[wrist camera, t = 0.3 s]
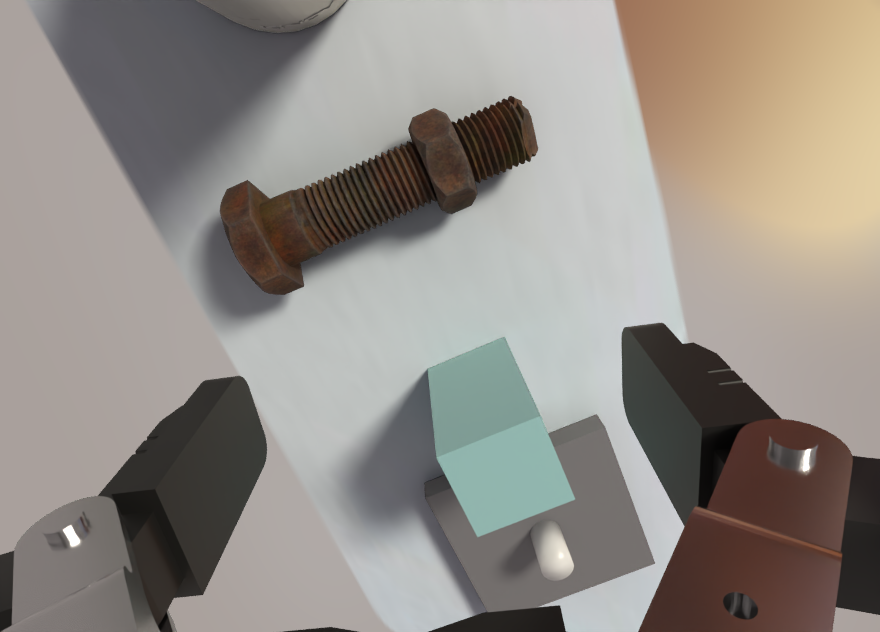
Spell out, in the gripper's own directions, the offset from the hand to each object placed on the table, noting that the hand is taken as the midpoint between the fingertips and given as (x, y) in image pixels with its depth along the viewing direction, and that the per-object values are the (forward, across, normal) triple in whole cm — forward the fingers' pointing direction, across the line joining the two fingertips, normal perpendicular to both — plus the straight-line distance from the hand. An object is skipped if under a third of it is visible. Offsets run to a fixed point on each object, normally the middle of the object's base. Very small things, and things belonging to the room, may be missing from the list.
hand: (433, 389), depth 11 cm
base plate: (+19, -4, +22) cm, 29 cm away
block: (+19, -1, +11) cm, 22 cm away
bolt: (+20, +3, -1) cm, 20 cm away
